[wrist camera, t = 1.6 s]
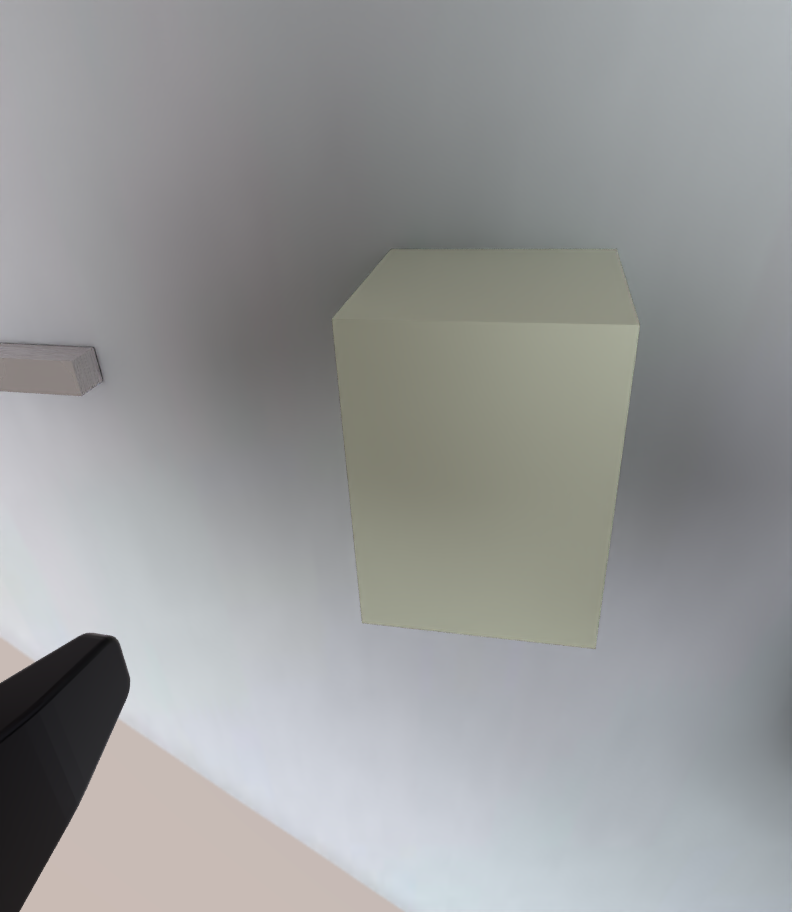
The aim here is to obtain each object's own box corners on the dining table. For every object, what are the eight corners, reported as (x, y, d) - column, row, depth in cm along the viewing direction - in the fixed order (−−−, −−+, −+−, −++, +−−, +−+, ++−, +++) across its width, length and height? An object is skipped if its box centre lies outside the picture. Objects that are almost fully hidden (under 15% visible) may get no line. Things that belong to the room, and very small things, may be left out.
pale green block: (583, 535, 19) (591, 676, 14) (405, 521, 20) (364, 648, 15) (616, 247, 15) (639, 325, 11) (391, 247, 16) (331, 319, 12)
